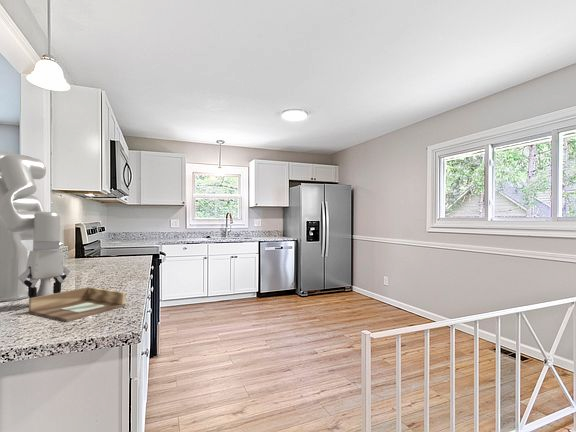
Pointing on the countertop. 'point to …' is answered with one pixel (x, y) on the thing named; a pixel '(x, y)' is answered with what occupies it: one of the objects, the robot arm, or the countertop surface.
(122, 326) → the countertop surface
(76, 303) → the tray
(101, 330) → the countertop surface
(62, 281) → the robot arm
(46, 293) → the flask
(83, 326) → the countertop surface
